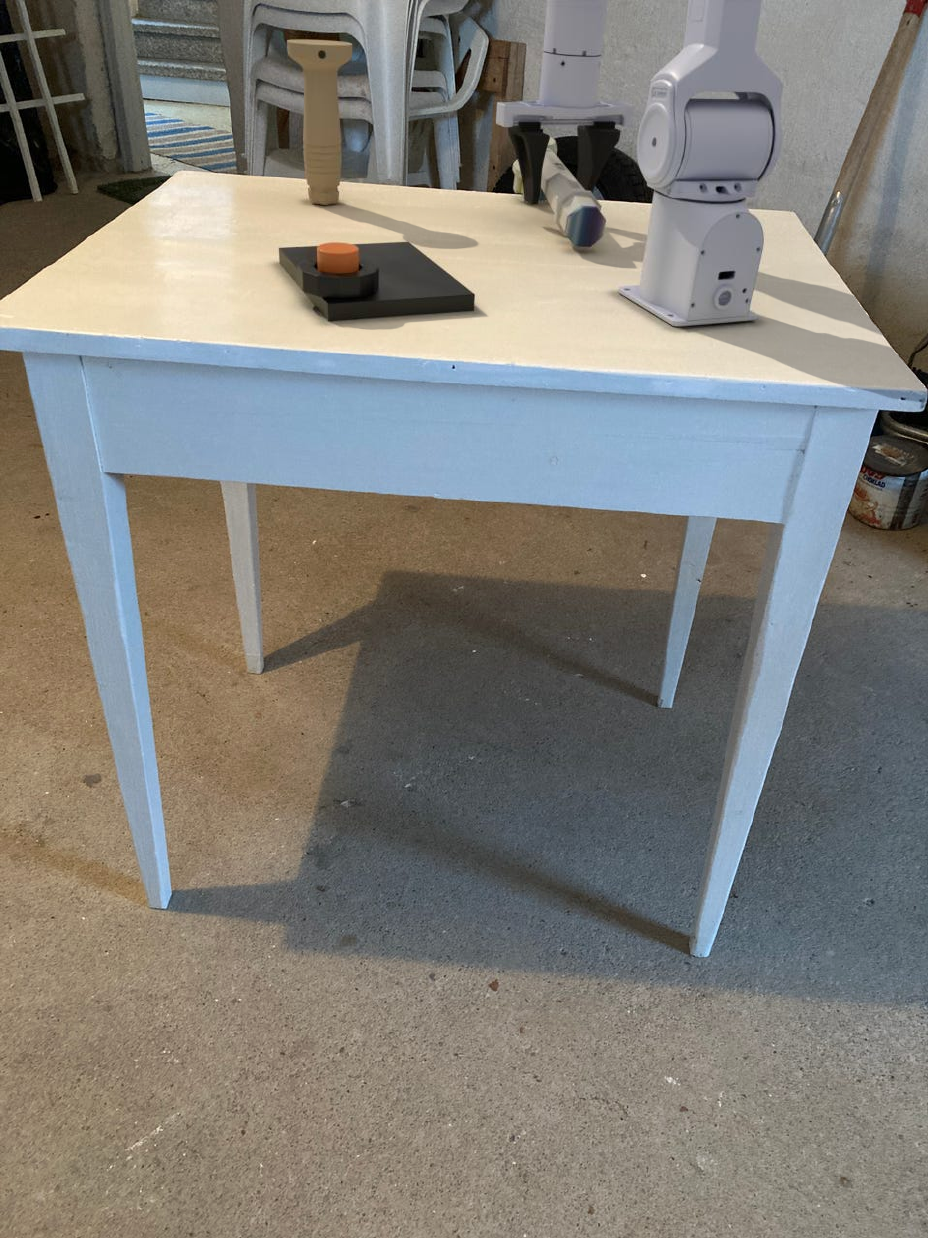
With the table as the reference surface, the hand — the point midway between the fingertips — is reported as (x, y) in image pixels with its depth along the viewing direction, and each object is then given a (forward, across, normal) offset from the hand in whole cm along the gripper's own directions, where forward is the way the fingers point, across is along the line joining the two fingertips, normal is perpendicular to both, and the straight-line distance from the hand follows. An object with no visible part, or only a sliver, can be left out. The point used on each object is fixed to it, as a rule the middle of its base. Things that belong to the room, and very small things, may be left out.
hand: (557, 201), depth 104 cm
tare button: (0, +30, +22) cm, 37 cm away
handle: (+2, +22, -12) cm, 25 cm away
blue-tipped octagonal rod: (+2, 0, 0) cm, 2 cm away
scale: (+2, +26, +18) cm, 32 cm away
